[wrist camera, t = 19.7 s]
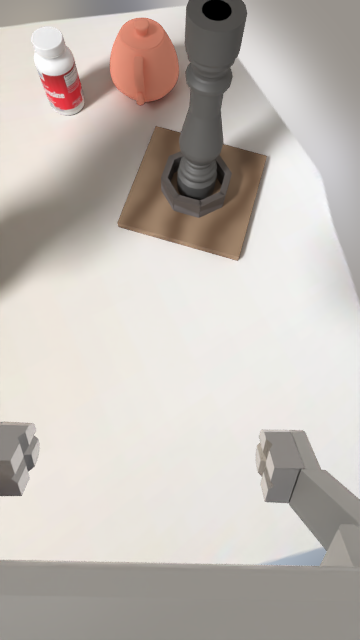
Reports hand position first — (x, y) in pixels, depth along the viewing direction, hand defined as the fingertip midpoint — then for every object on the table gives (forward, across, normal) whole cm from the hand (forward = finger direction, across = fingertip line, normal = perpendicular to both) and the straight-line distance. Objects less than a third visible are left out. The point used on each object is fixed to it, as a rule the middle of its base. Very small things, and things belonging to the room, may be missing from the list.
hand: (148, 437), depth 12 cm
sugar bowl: (+67, +6, -16) cm, 69 cm away
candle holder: (+50, -4, -2) cm, 51 cm away
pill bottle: (+64, +20, -13) cm, 68 cm away
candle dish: (+51, -4, -1) cm, 51 cm away
